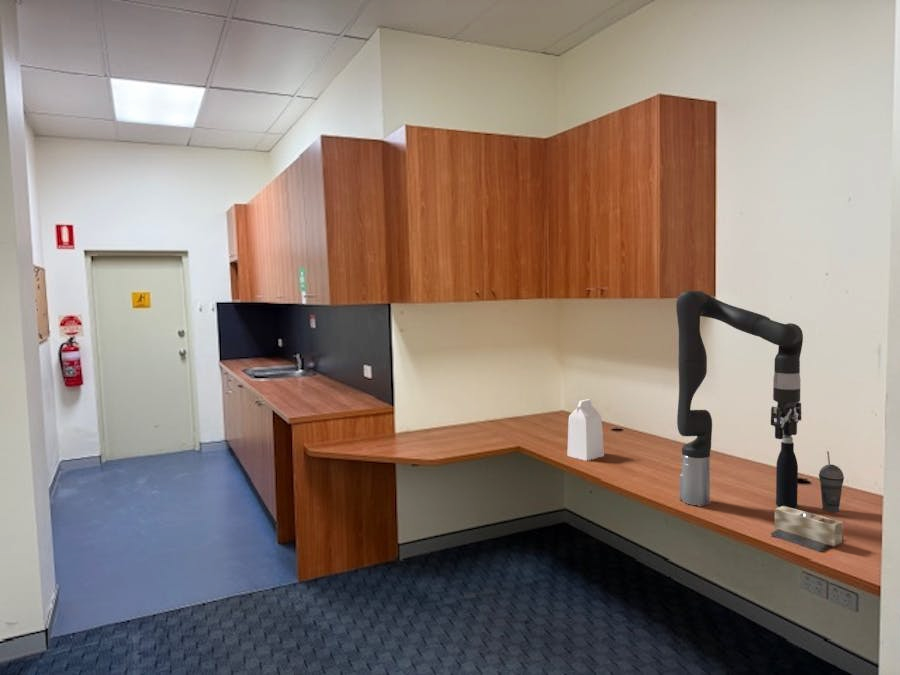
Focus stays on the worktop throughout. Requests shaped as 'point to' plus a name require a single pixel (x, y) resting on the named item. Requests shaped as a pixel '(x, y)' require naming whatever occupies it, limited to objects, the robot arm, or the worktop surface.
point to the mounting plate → (801, 538)
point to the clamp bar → (808, 525)
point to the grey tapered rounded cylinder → (831, 486)
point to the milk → (585, 432)
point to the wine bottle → (786, 472)
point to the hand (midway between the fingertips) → (786, 436)
